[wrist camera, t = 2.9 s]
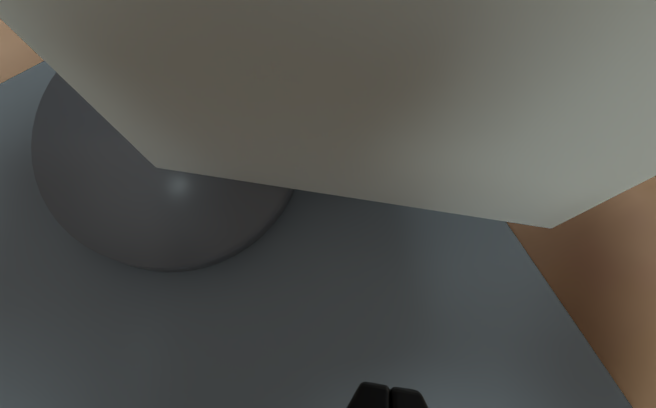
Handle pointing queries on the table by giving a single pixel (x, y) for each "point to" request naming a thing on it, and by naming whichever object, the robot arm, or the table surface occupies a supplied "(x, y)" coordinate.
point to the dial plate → (280, 309)
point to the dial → (330, 113)
